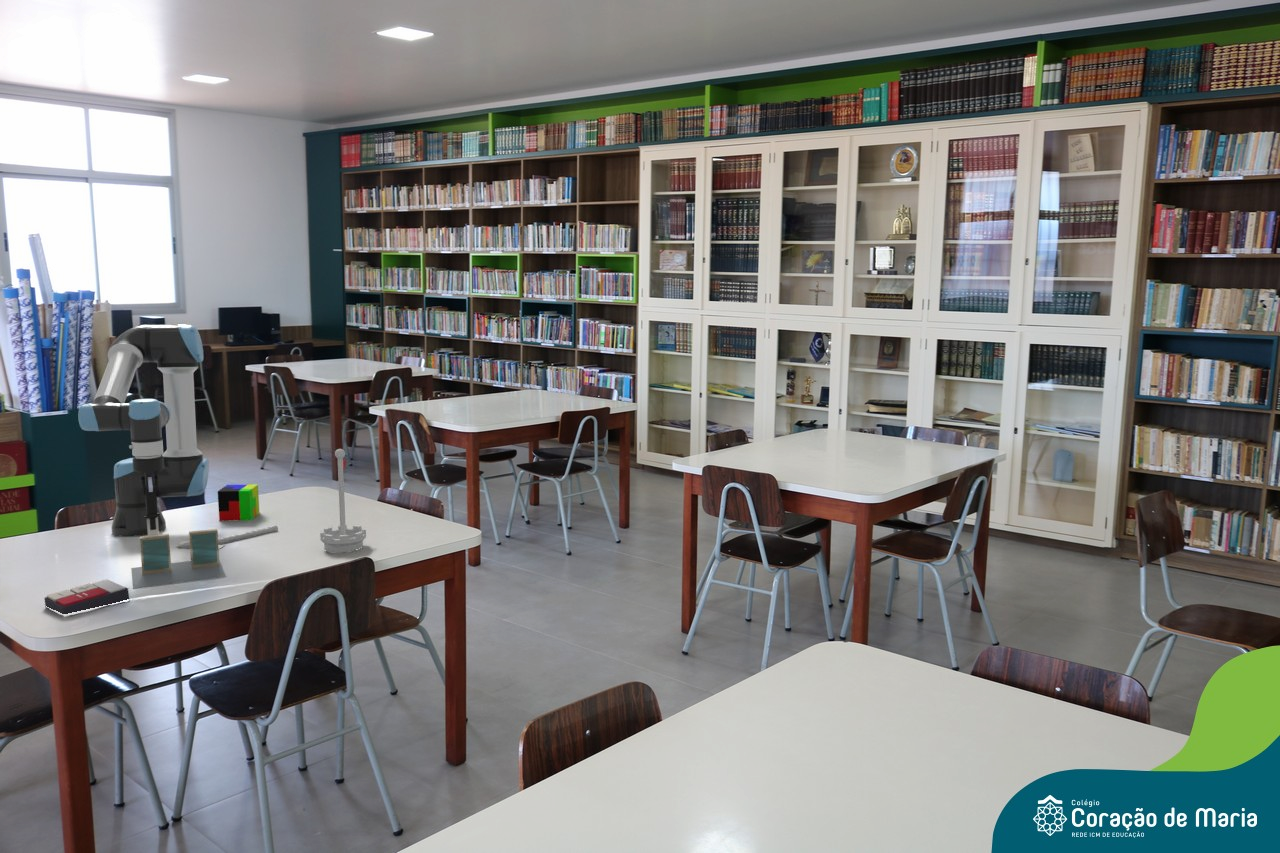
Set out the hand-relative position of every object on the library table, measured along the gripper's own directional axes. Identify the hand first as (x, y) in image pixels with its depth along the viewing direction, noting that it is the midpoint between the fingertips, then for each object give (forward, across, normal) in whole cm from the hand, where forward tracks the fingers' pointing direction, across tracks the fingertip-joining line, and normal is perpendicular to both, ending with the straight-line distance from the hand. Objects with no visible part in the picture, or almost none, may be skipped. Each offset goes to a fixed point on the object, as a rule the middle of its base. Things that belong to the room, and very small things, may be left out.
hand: (153, 540), depth 261 cm
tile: (+7, +7, 0) cm, 10 cm away
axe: (+8, -19, +22) cm, 30 cm away
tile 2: (+7, +7, +12) cm, 16 cm away
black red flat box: (+8, +26, -16) cm, 32 cm away
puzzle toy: (+8, -49, +27) cm, 57 cm away
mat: (+8, +10, +5) cm, 14 cm away
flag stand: (+8, +4, +50) cm, 51 cm away
